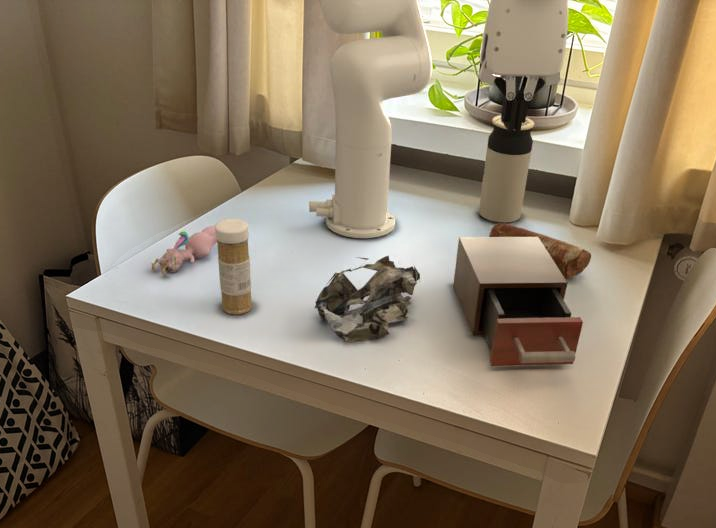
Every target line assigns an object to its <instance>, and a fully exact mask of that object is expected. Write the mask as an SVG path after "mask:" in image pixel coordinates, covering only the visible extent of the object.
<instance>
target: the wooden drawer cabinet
mask: <svg viewBox="0 0 716 528" xmlns="http://www.w3.org/2000/svg"><path fill="white" fill-rule="evenodd" d="M457 243H458V244H457V252H456V258H455V259H456V260H455V266H454V267H455V268H454V275H453V284H452V287H453V290H454V292H455V294H456V297H457V300H458V303H459V304H460V307H461V309H462V313H463V315H464V318H465V321H466V323H467V325H468V328H469V330H470V333H471V336H472V337H480V336H481V337H483V336H484V337H486V336H485V334H484V331H483V329H482V326H481V324H480V316H481V309H482V302H483V295H484V288H557V290H558V292H559V293H560V295H561V297H562V298H563V300H564V301H565V296H566V291H567V287H568V281H567V279H566V278H564V276H563V275H562V273H561V272H560V270H559V268H558V267H557V265H556V264H555V262H554V261H553V259H552V258H551V256H550V254H549V253H548V251H547V250H546V248H545V247H544V245H543V243H542V242H541V240H540V239H539V237H489V236H459V237H458V242H457Z"/></svg>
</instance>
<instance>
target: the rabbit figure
mask: <svg viewBox="0 0 716 528" xmlns="http://www.w3.org/2000/svg"><path fill="white" fill-rule="evenodd" d="M178 236H179V238H178V239H177V241H176V242H175V245H174V247H173V248H167V249H166V252H164V254H163V255H162V257H160V258H155V260H154V261H153V262H152V261H151V262H150V263H151V270H153V272H156V271H157V268H156V265H157V264H159V266H160V268H161V272H162V273H161V275H164V277H167V273H166V270H167V271H169V272H171V273H176V272H178V271H179V270H180V268H181V267H182V264H183V263H186V262H188V261H189V260H190V261H189V262H190V264H194V263H195V259H197V260H200V259H204V258H206V257H207V256H208V255H209V254H210V253H211V251H212V249H213V248H214V245H215V244H217V241H216V240H217V239H216V237H215V225H210V226H207V227H205V228H203V229H202V230H201V231H198V232H195V233H193V234H192V235H190V236H189V234H188V232H187V231H181V232H179V233H178ZM181 247H184V248H185V249H180V248H181Z"/></svg>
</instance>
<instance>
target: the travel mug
mask: <svg viewBox="0 0 716 528" xmlns="http://www.w3.org/2000/svg"><path fill="white" fill-rule="evenodd" d="M491 122H492V125H493V127H492V128H493V129H492V131H491V132H490V134H489V135H488V138H487V145H486V154H485V161H484V168H483V176H482V185H481V191H480V199H479V207H478V214H479V215H480V216H482V218H484V219H486V220H487V221H490V222H495V223H505V224H508V223H513V222H515V221H518V220H520V218H521V215H522V211H523V210H522V209H523V204H524V197H525V192H526V186H527V180H528V174H529V168H530V162H531V156H532V150H533V146H534V145H533V144H534V143H533V142H534V139H533V137H532V134H531V133H532V129H533V128H534V127H535V122H534V121H533V120H532V119H531V118H529V117H526V120H525V123H522V126H521V131H516V130H515V129H514V130H513V131H508V129H507V128H506V127H505V126H504V122H502V121H501V114H500V115H496V116H494V117H493V118H492V120H491Z"/></svg>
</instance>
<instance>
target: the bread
mask: <svg viewBox="0 0 716 528" xmlns="http://www.w3.org/2000/svg"><path fill="white" fill-rule="evenodd" d="M488 237H539V239H540V240H541V242H542V243H543V245H544V247H545V248H546V250H547V251H548V253H549V254H550V256H551V258H552V259H553V261H554V262H555V264H556V265H557V267H558V268H559V270H560V272H561V273H562V275H563V276H564V278H565V279H566V280H572V279H573V278H574V277H576V276H578V275H580V274H581V273H583V271H584V270H585V269H586V268H587V267H588V266H589V264H590V262H591V259H592V254H591V252H590V251H588V250H586V249H584V248H583V247H581V246H577V245H574V244H571V243H569V242H566V241H563V240H560V239H558V238H555V237H551V236H548V235H545V234H542V233H539V232H535V231H532V230H529V229H526V228H522V227H519V226H515V225H512V224H508V223H501V222H497V223H496V224H495V225H494V226H493V227H492V228H491V230H490V232H489V235H488Z"/></svg>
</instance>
